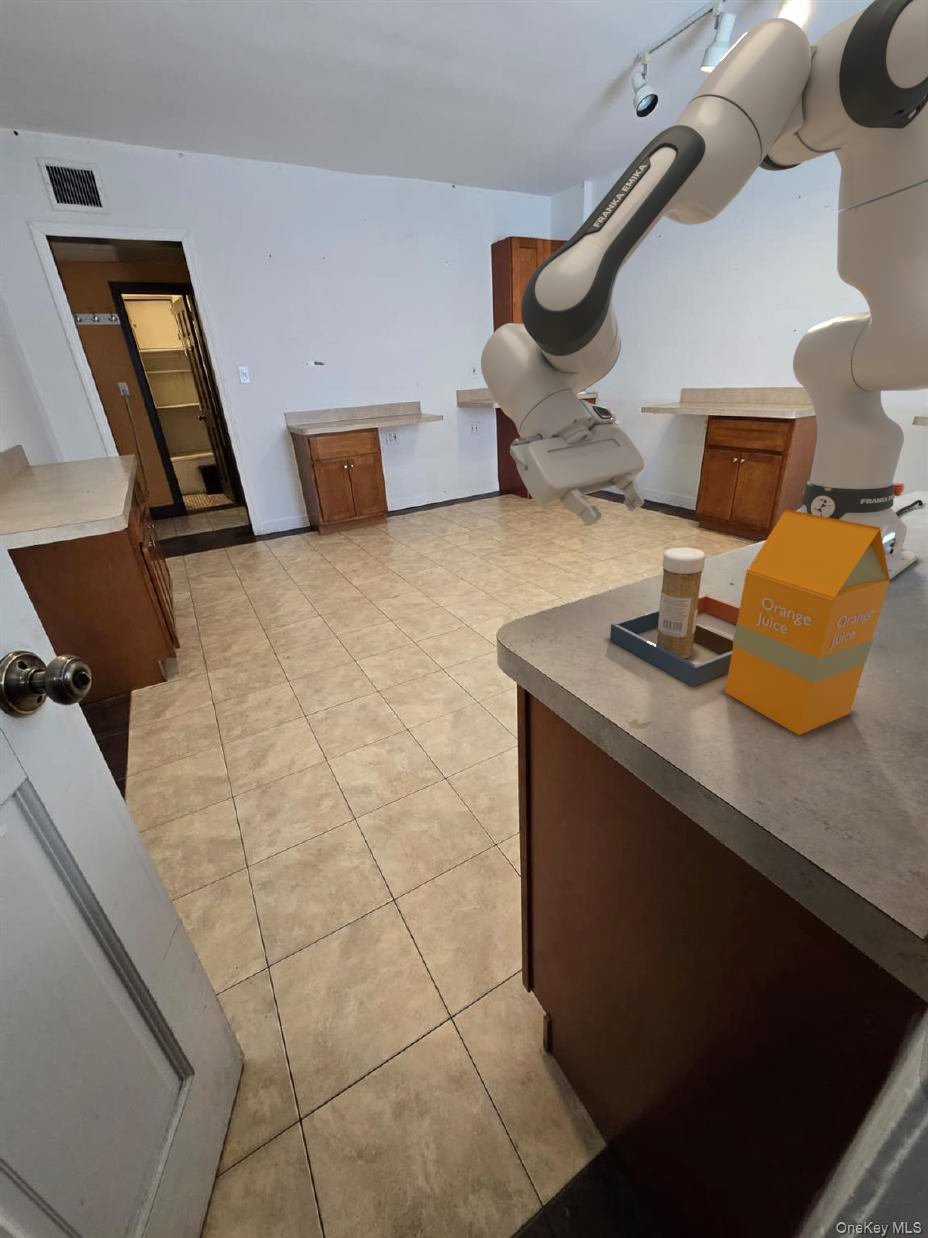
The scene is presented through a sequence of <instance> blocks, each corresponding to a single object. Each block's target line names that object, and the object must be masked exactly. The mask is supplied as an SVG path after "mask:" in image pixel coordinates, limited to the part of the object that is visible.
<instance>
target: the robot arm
mask: <svg viewBox="0 0 928 1238" xmlns="http://www.w3.org/2000/svg"><path fill="white" fill-rule="evenodd" d="M832 152H833V153H834V154H835V156H836V158H837V160H838V162H839V166H840V170H841V171H840V176H839V188H838V205H837V211H838V212H837V247H836V248H837V253H836V257H837V259H836V270H837V274H838V276H839V278H840V279H841V281H843V283H845V284H846V285H849V286H851V287H853V288H855V289H856V290H857V291H859V292H860V294H861V295H862V297H864V299H865V301H866V303H867V306H868V308H869V310H868V311H863V312H856V313H850V314H844V315H841V316H837V317H834V318H833V319H829V320H827V321H825V322H822V323H819V324H817V325H815V326H813V327H811V328H810V329H809V330H808V331H806V333H804V335H803V336H802V338H801V339H800V340H799V343H798V344H797V346H796V348H795V350H794V353H793V358H792V370H793V374H794V377H795V379H796V381H797V382H798V383H799V385H801V386H802V387H803V388H804V389H805V391H806V392H807V394H808V396H809V398H810V400H811V403H812V406H813V409H814V413H815V415H814V416H815V420H816V443H815V448H814V454H813V461H812V465H811V472H810V475H809V480H807V481H806V482H805V486H804V488H803V491H802V497H801V503H802V504H803V505H802V506H800V508H797V510H796V511H797V512H802V513H807V514H813V515H818V516H823V517H828V518H833V519H838V520H844V521H849V522H854V523H859V524H864V525H870V526H875V527H880V532H881V537H882V542H883V547H884V552H885V558H886V563H887V568H888V573H889V578H890V580H892V579H893V578H895V577H896V576H897V575H899V574H900V573H901V572H903V571H904V570H906V569H907V568H908V567H909V566H910V565H912V564H913V563H915V561H917V558H918V554H917V553H915V552H913V551H910V550H908V549H904V547H903V546H904V543H905V539H906V535H907V529H908V528H907V525H906V524H905V523H904V521H902V519H901V518H900V517H899V515H900V514H902V513H903V512H904V511H907V510H909V509H911V508H913V507H915V506H916V505H918V506H923V505H924V502H923V500H921V499H917V500H915V501H914V502H912V503H911V504H908V505H906V506H904V507H902V508H900V509H898V510H897V511H896V512H895V511H894V510H893V508H892V507H893V506H894V499H895V498H896V497H900V496H901V495H902V494H903V493H904V490H905V484H904V483H894V482H893V481H894V477H895V475H896V470H897V467H898V463H899V460H900V456H901V452H902V449H903V446H904V441H905V435H904V431H903V429H902V427H901V425H900V424H899V423H897V422H896V421H895V420H894V419H892V418H890V417H889V416H888V415H887V414H886V411H885V410H884V407H883V403H882V392H895V391H896V392H897V391H898V392H902V391H904V392H905V391H910V392H911V391H912V392H913V391H914V392H916V391H921V390H927V389H928V0H873V2H871V3H870V4H869V5H868V6H867V7H866V8H864V9H862V10H860V11H858V12H857V13H854V14H853V15H851V16H850V17H848V18H846V19H845V20H843V21H841V22H840V23H838V24H837V25H835V26H834V27H832V28H830V29H829V30H828V31H826V32H825V33H824V34H822V36H820V37H819V38H818V39H817V40H816V41H815V42H814V43H813V44H811V45H810V41H809V39H808V36H807V35H806V33H805V31H803V29H802V28H801V27H800V26H799V25H798V24H797V23H795V22H794V21H792V20H790V19H787V18H784V17H772V18H768V19H765V20H763V21H760V22H759V23H756V24H755V25H754V26H752V27H751V28H750V29H749V30H747V32H745V33H744V34H743V35H742V36H741V38H739V39H738V40H737V41H736V43H734V44H733V46H732V47H731V48H730V49H729V50H728V51H727V52H726V54H725V55H724V56H723V57H722V58H721V59H720V61H719V62H718V63H717V65H715V67H713V69H712V71H710V73H709V74H708V76H707V77H706V78H705V80H704V81H703V82H702V84H700V86H699V88H698V89H697V91H696V92H695V93H694V95H693V96H692V97H691V99H690V101H689V102H688V103H687V105H686V106H685V108H684V109H683V110H682V112H681V113H680V115H679V116H678V118H677V119H676V121H675V122H674V123H673V124H672V126H669V127H668V128H665V129H664V130H662V131H661V132H659V133H658V134H657V135H656V136H655V137H654V138H652V140H650V141H649V143H648V144H647V145H646V146H645V147H644V148H643V149H642V150H641V151H640V152H639V154H638V155H636V157H634V159H633V161H632V162H631V163H630V164H629V165H628V167H627V168H626V169H625V170H624V172H622V174H621V176H620V177H619V178H618V180H616V182H615V183H614V184H613V186H612V187H611V188H610V189H609V191H608V192H607V193H606V194H605V196H604V197H603V198H602V199H601V201H600V202H599V203H598V204H597V206H596V207H595V208H594V209H593V211H592V212H591V214H589V216H588V217H587V218H586V220H585V221H584V222H583V224H582V225H581V226H580V227H579V228H578V230H577V231H576V232H575V233H574V234H573V235H572V236H571V237H570V238H569V239H568V240H567V241H566V242H565V243H564V244H563V245H561V246H560V247H559V248H558V249H557V250H556V251H554V252H553V253H551V254H550V255H549V256H548V257H547V258H546V259H545V260H544V261H543V262H542V263H541V264H540V265H539V266H538V267H536V269H535V271H534V272H533V273H532V274H531V276H530V277H529V279H528V281H527V283H526V285H525V288H524V291H523V294H522V298H521V304H520V305H521V306H520V313H521V319H522V323H514V322H507V323H505V324H503V325H501V326H500V327H498V328H497V329H496V330H495V331H494V332H492V334H491V335H490V337H489V338H488V340H486V343H485V345H484V347H483V349H482V351H481V355H480V356H481V357H480V370H481V374H482V377H483V380H484V382H485V384H486V386H487V389H488V390H489V392H490V393H491V395H492V397H493V398H494V400H495V402H496V404H497V405H498V407H499V408H500V409H501V411H502V412H503V413H504V415H505V416H506V417H508V418H509V419H510V420H512V422H513V423H514V425H515V427H516V430H517V433H518V435H519V437H517V438H515V439H513V441H512V442H511V444H510V447H509V454H510V456H511V457H512V459H513V461H514V462H515V463H516V464H515V465H516V469H517V472H518V474H519V476H520V478H521V480H522V482H523V484H524V486H525V488H526V490H527V491H528V494H529V495H530V496H531V498H532V499H533V501H534V502H536V503H537V504H538V505H540V506H542V507H546V506H549V505H554V504H557V503H560V502H561V503H562V505H563V507H564V508H565V509H567V510H568V511H570V512H571V513H573V514H575V515H576V516H577V517H579V518H580V519H581V521H582V522H583V523H584V525H585V526H587V527H588V526H592V525H594V524H597V523H598V522H599V521H600V520H601V519H602V517H603V516H602V513H601V512H600V510H599V508H598V507H597V506H596V505H595V504H594V505H590V503H588V502H587V501H586V500H585V499H583V497H581V496H585V495H588V494H591V493H596V492H598V491H603V490H605V489H610V488H613V487H616V488H617V489H618V491H619V492H620V491H622V493H623V496H624V498H625V499H624V501H622V503H623V504H624V505H625V507H627V509H628V511H629V512H630V511H631V512H632V511H636V510H638V509H640V508H641V507H642V506H643V505H644V504H645V499H644V498H643V497H642V495H641V494H640V493H639V489H638V488H639V487H638V482H637V479H636V477H637V476H638V475H639V474H640V473H641V472H642V471H643V470H644V469H645V461H644V457H643V455H642V454H641V452H640V451H639V449H638V448H637V446H636V445H635V443H634V442H633V441H632V439H631V437H630V436H628V434H627V433H626V432H625V430H623V428H622V427H620V426H619V425H617V424H615V422H616V420H617V416H616V414H615V413H614V412H613V410H612V409H610V408H608V407H605V406H601V405H597V404H593V403H591V402H588V401H587V400H585V399H583V398H580V399H579V397H578V395H577V394H580V393H582V392H583V391H585V390H586V389H588V388H590V387H592V386H593V385H594V384H596V383H597V382H599V381H600V380H602V379H603V378H605V377H606V376H607V375H608V374H609V373H610V372H611V371H612V369H613V368H614V367H615V365H616V364H617V362H618V359H619V357H620V353H621V349H622V348H621V347H622V341H621V340H622V339H621V334H620V329H619V324H618V320H617V315H616V314H615V313H616V312H615V309H614V304H613V298H614V291H615V286H616V283H617V279H618V276H619V274H620V272H621V270H622V268H623V267H624V265H626V263H627V262H628V260H629V259H630V258H631V257H632V256H633V254H634V253H635V252H636V250H637V249H638V248H639V247H640V246H641V244H642V243H643V242H644V240H645V239H646V238H647V237H648V235H649V234H650V233H651V232H652V230H653V229H654V228H655V227H656V225H657V224H658V223H659V222H660V220H661V219H662V218H664V217H665V218H667V219H669V220H671V221H672V222H676V223H678V224H680V225H687V226H695V225H701V224H704V223H707V222H710V221H712V220H714V219H716V218H717V217H718V216H719V215H720V214H721V213H722V212H723V211H724V210H725V209H726V208H727V207H729V205H730V204H732V202H733V201H734V199H735V198H736V197H737V196H738V195H739V193H740V192H741V191H742V190H743V188H744V187H745V186H746V185H747V183H748V182H749V180H750V179H751V178H752V176H753V175H754V174H755V172H756V171H757V169H758V168H761V169H763V170H765V171H771V172H776V171H777V172H778V171H786V170H790V169H794V168H795V167H798V166H799V165H801V164H803V163H805V162H809V161H811V160H814V159H818V158H820V157H823V156H825V155H827V154H830V153H832Z"/></svg>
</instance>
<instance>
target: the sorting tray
mask: <svg viewBox="0 0 928 1238" xmlns="http://www.w3.org/2000/svg"><path fill="white" fill-rule="evenodd" d="M697 609H698V612H697V615H698V614H701V613H706V614H709V615H711V616H714V617H716V618H719V619H721V620H723V621H726V622H729V623H731V624H734V625H736V624H737V622H738V616H739V611H740V606H739V605H735V604H733V603H730V602H729V601H728V602H727V601H725V600H722V599H719V598H717V597H715V596H711V595H709V594H703V595H699V599H698V607H697ZM659 610H660V608H657V609H655V610H651V611H648V612H645V613H642V614H639V615H635V616H632V617H629V618H626V619H622V620H619V621H616V622H613V623H611V624H610V631H609V633H610V635H609V641H611V642H613V643H614V644H616V645H618V646H620V647H622V648H623V649H625V650H627V651H629V652H630V653H632V654H633V655H635V656H637V657H639V658H640V659H642V660H644V661H646V662H648V663H650V664H652V665H653V666H655V667H657V668H659V669H661V670H662V671H664V672H666V673H668V674H669V675H671V676H673V677H675V678H677V679H678V680H680V681H681V682H684V683H685V684H687V685H690V686H691V687H694V688H695V687H696V686H699V685H702V684H703V683H706V682H708V681H711V680H713V679H716V678H719V677H721V676H723V675H726V674H728V673H729V667H730V661H731V656H732V650H733V641H734V637H733V638H732V637H730V636H728V635H726V634H723V633H721V632H719V631H716V630H714V629H712V628H710V627H707V626H705V625H702V624H700V623H699V622H696V629H695V633H694V640H693V643H695V644H698V645H700V646H702V647H704V648H706V649H708V650H711V651H712V652H715V653H717V654H719V655H717V656H715V657H712V658H709V659H707V660H704V661H701V662H699V663H696V664H695V663H693V662H691V661H689V660H687V659H686V658H685V659H683V658H681V657H679V656H677V655H676V654H674V653H672V652H670V651H668V650H666V649H664V648H662V647H660V646H658V645H656V644H657V643H655V642H652V641H650V640H648V639H646V638H644V637H643V636H641V635H638V634H640V633H643V632H647V631H649V630H652V629H655V628H658V621H659Z"/></svg>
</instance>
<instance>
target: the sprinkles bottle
mask: <svg viewBox="0 0 928 1238" xmlns="http://www.w3.org/2000/svg"><path fill="white" fill-rule="evenodd" d="M705 562H706V554H705V552H703V551H702V550H700V549H697V548H692V547H674V548H673V547H672V548H669V549H667V550H665V551H664V553H663V556H662V572H663V574H662V585H661V590H660V601H659V609H660V610H659V621H658V627H657V638H656V643H655V644H656V645H658V646H660V647H662V648H664V649H666V650H668V651H670V652H672V653H674V654H676V655H677V656H679V657H681V658H683V659H685V660H686V659H688V658H690V657H691V656H692V655H693V653H694V642H693V640H694V633H695V629H696V623H697V620H698V614H697V612H698V609H697V607H698V599H699V596H700V589H701V582H702V581H701V580H702V573H703V571H704V569H705Z"/></svg>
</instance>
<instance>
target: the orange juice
mask: <svg viewBox="0 0 928 1238" xmlns="http://www.w3.org/2000/svg"><path fill="white" fill-rule="evenodd" d="M890 582H891V579H890V578H889V573H888V568H887V563H886V558H885V552H884V547H883V542H882V537H881V532H880V527H875V526H870V525H864V524H859V523H854V522H849V521H844V520H838V519H833V518H828V517H823V516H818V515H813V514H807V513H802V512H797V510H792V509H786V508H785V509H784V511H783V513H782V515H781V516H780V518H779V519H778V521H777V523H776V524H775V526H774V527H773V528H772V529H771V532H770V534H769V535H768V536H767V538H766V540H765V542H764V543H763V545H762V546H761V548H760V549H759V551H758V553H757V554H756V556H755V557H754V559H753V561H752V562H751V564H750V565H749V566H748V568H746V570H745V577H744V583H743V588H742V594H741V599H740V604H739V605H740V606H739V607H740V611H739V616H738V622H737V624H735V629H734V630H735V631H734V636H733V639H734V641H733V650H732V656H731V661H730V667H729V673H727V680H726V684H725V690H724V693H725V694H726V695H728V696H730V697H732V698H734V699H736V700H737V701H738V702H741V703H742V704H744V705H745V706H747V707H749V708H751V709H753V710H754V711H756V712H758V713H759V714H761V715H763V716H764V717H767V718H768V719H770V720H772V721H773V722H775V723H777V724H778V725H780V726H782V727H784V728H785V729H787V730H789V731H790V732H792V733H794V734H795V735H797V736H800V735H803V734H805V733H807V732H810V731H812V730H814V729H817V728H820V727H822V726H824V725H827V724H829V723H831V722H834V721H835V720H838V719H841V718H843V717H845V716H847V715H850V714H851V710H852V707H853V705H854V700H855V698H856V695H857V690H858V687H859V684H860V681H861V677H862V675H863V671H864V667H865V664H866V663H867V661H868V657H869V654H870V650H871V647H872V645H873V644H872V643H873V640H874V639H873V638H874V634H875V631H876V627H877V625H878V622H879V618H880V615H881V612H882V608H883V604H884V601H885V599H886V595H887V591H888V588H889V585H890Z"/></svg>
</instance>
